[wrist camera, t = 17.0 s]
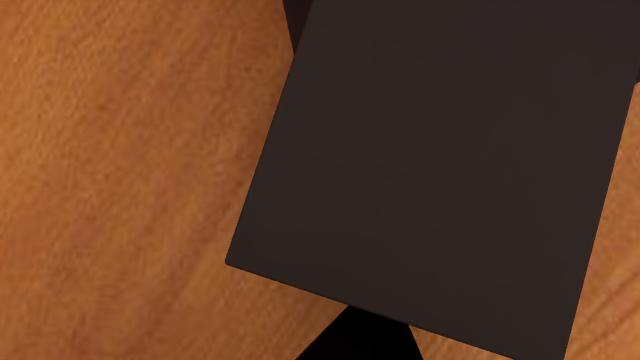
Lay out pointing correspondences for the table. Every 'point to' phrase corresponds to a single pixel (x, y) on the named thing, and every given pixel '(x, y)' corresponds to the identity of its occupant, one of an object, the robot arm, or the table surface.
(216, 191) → the table surface
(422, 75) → the stepped dark grey block
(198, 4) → the table surface
